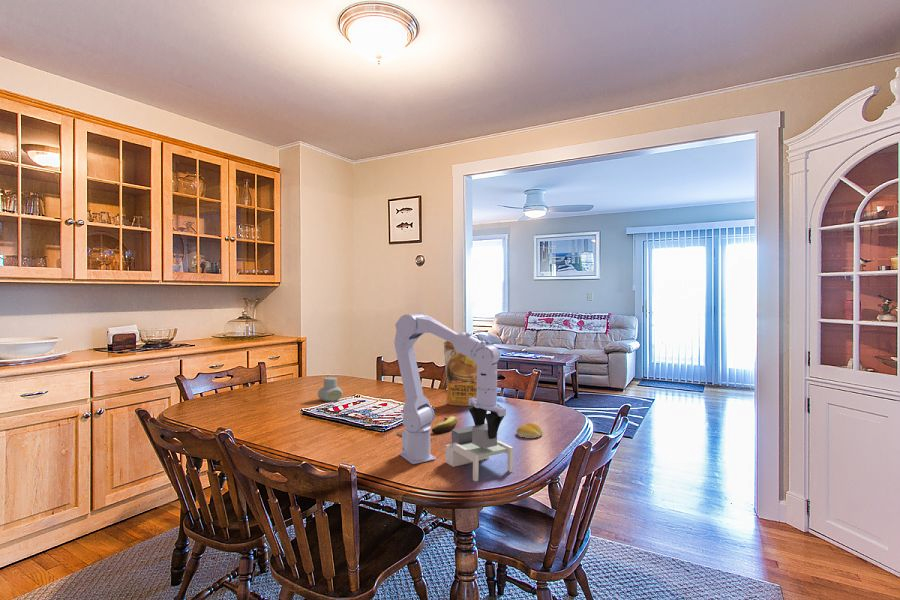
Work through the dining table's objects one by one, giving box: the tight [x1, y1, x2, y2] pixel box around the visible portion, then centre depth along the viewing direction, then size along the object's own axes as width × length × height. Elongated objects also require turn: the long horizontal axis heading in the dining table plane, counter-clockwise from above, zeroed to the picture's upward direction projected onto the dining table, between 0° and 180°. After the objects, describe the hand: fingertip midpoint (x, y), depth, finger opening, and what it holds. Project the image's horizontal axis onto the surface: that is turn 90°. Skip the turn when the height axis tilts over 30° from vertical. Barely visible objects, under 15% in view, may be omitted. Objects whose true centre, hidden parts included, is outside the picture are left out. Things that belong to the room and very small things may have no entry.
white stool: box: [445, 439, 514, 482], centre depth 136 cm, size 16×13×7 cm
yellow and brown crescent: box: [396, 416, 458, 446], centre depth 173 cm, size 35×27×4 cm
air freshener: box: [317, 376, 344, 403], centre depth 211 cm, size 11×8×10 cm
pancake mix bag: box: [443, 340, 487, 408], centre depth 205 cm, size 7×19×28 cm, turn 81°
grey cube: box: [472, 423, 498, 449], centre depth 132 cm, size 5×5×5 cm
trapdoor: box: [451, 425, 506, 458], centre depth 136 cm, size 14×10×4 cm
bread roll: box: [516, 422, 544, 439], centre depth 165 cm, size 8×9×4 cm
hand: (486, 435), depth 132 cm, fingers closed on grey cube, 5 cm apart
